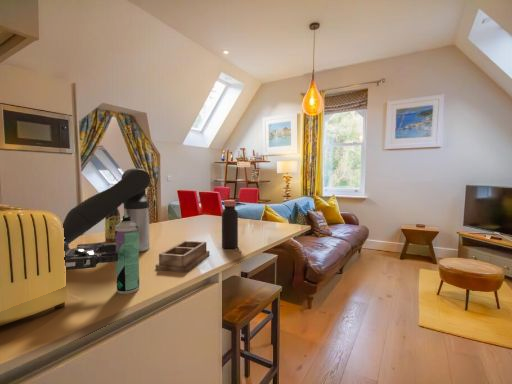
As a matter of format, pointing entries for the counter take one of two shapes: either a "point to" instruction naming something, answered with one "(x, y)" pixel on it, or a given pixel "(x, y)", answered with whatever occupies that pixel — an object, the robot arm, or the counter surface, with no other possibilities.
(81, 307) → the counter surface
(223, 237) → the vinegar
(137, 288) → the spray can
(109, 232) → the sauce bottle
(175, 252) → the rack
